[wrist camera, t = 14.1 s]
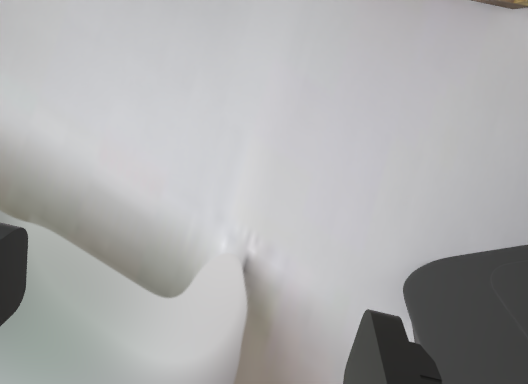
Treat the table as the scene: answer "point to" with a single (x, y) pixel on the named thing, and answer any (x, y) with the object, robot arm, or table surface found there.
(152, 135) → the table surface
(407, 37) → the table surface
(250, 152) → the table surface
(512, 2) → the dock
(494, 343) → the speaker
